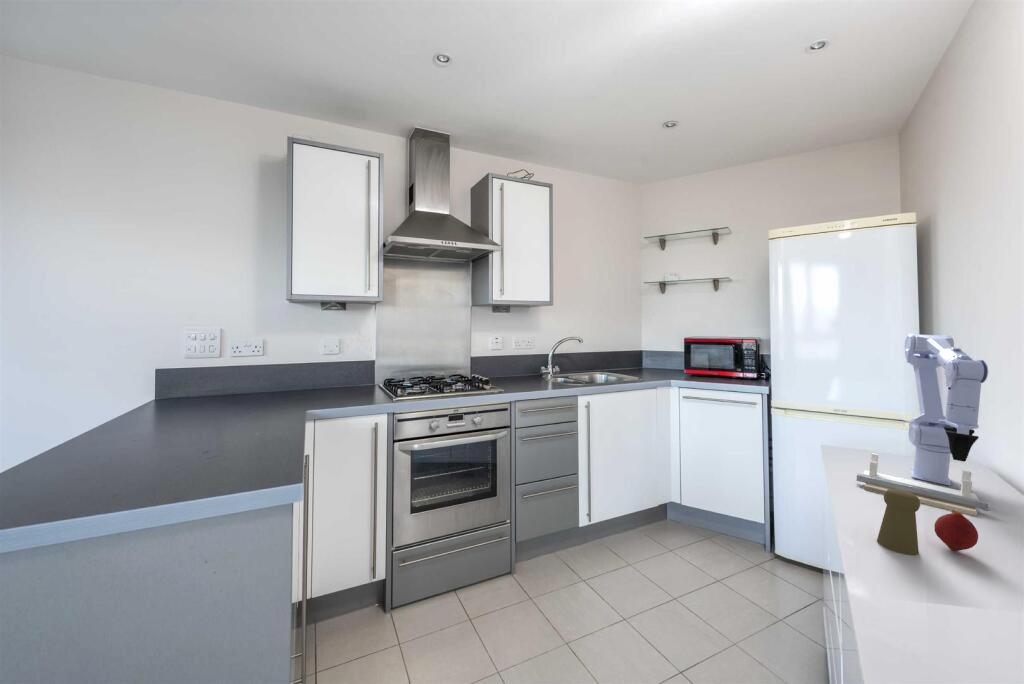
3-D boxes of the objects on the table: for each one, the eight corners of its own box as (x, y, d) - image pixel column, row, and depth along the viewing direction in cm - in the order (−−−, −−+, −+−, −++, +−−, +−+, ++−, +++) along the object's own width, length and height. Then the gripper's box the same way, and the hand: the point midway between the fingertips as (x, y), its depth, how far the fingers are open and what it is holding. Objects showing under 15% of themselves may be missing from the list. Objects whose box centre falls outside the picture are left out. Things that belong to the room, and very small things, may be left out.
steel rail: (857, 479, 116) (857, 473, 116) (986, 508, 99) (987, 502, 99) (856, 480, 114) (856, 475, 114) (987, 511, 98) (988, 504, 98)
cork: (901, 540, 84) (906, 486, 83) (928, 556, 78) (933, 499, 77) (868, 537, 85) (873, 484, 84) (893, 553, 79) (898, 496, 78)
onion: (966, 547, 82) (970, 507, 82) (983, 562, 77) (988, 519, 77) (927, 539, 85) (930, 501, 84) (941, 553, 79) (945, 512, 79)
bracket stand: (864, 475, 122) (866, 451, 122) (975, 499, 107) (978, 473, 107) (862, 479, 119) (864, 455, 118) (977, 505, 104) (980, 477, 103)
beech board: (866, 482, 117) (867, 478, 117) (972, 506, 103) (972, 502, 103) (864, 489, 111) (864, 485, 111) (976, 516, 97) (976, 511, 97)
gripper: (938, 400, 116) (934, 449, 116) (941, 406, 105) (937, 459, 106) (976, 405, 111) (972, 455, 111) (983, 410, 100) (978, 466, 101)
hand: (957, 457), depth 108 cm, fingers open, 7 cm apart
